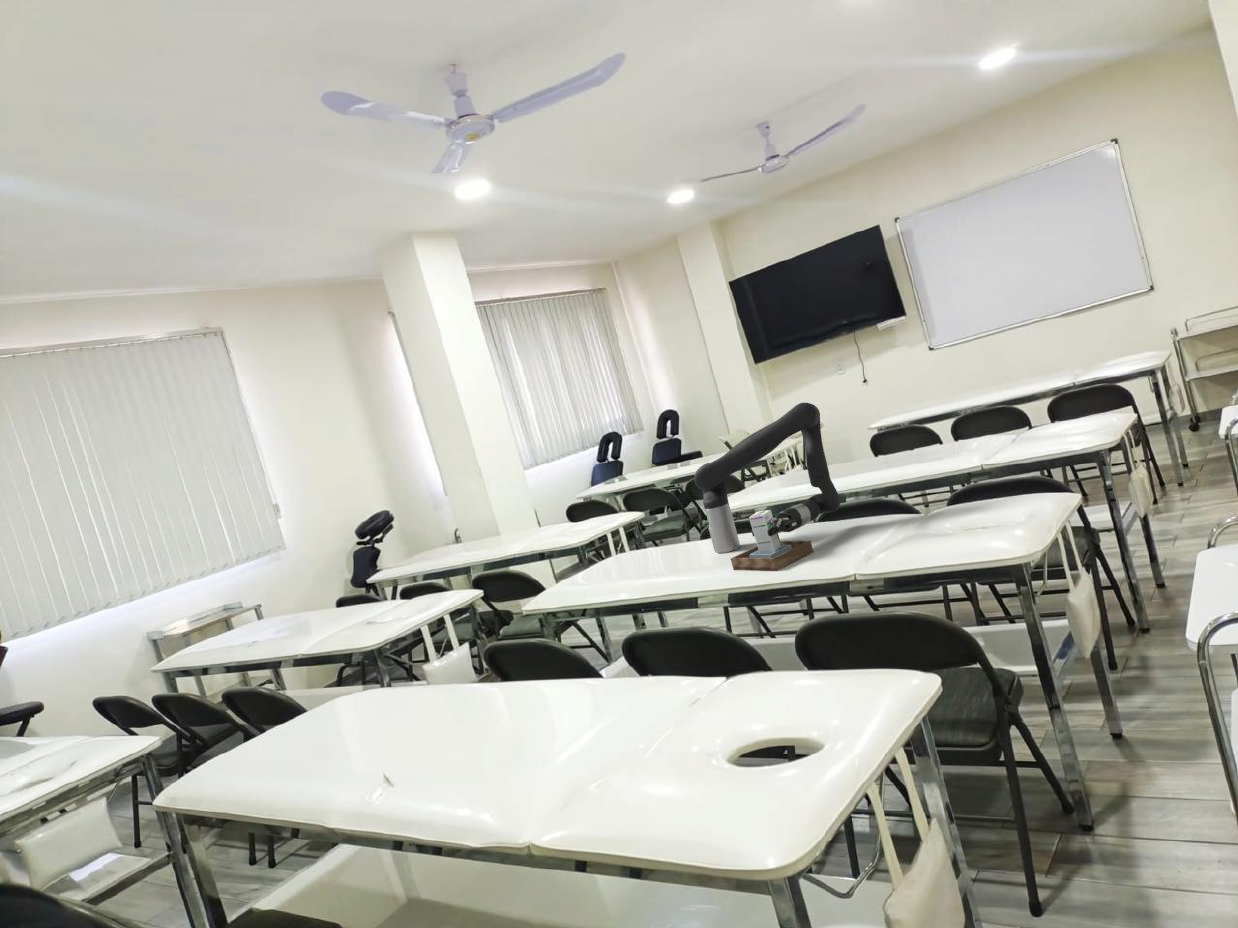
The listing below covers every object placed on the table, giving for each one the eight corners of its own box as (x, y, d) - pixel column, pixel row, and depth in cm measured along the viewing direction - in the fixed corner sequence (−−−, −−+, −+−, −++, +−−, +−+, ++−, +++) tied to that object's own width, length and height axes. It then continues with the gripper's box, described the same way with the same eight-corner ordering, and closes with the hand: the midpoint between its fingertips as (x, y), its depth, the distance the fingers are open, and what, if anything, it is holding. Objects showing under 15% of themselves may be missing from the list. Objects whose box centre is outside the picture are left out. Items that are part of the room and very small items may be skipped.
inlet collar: (751, 563, 271) (749, 554, 271) (771, 553, 277) (769, 544, 277) (772, 563, 263) (770, 554, 263) (793, 553, 269) (791, 544, 268)
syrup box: (776, 556, 266) (764, 513, 265) (760, 558, 270) (748, 516, 268) (783, 550, 270) (771, 509, 269) (767, 552, 274) (756, 511, 273)
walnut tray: (733, 569, 273) (730, 558, 273) (770, 552, 283) (767, 541, 283) (776, 571, 257) (772, 558, 257) (813, 552, 267) (810, 540, 267)
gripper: (776, 508, 283) (742, 523, 274) (806, 506, 271) (773, 522, 262) (781, 528, 284) (748, 544, 274) (812, 527, 272) (779, 544, 262)
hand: (760, 533), depth 268 cm, fingers closed on syrup box, 7 cm apart
